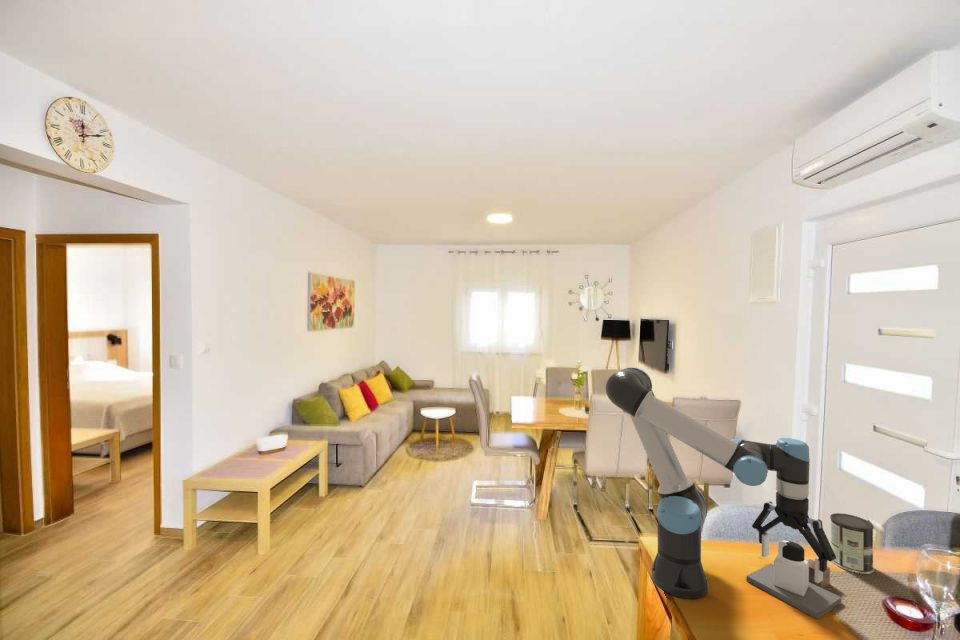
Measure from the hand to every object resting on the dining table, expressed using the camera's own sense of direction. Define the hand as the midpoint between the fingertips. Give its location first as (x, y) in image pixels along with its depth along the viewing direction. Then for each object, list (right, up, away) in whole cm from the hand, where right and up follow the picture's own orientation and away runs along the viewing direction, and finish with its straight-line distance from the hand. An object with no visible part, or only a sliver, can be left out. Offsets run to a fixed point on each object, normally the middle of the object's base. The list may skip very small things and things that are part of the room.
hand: (790, 567), depth 120 cm
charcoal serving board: (0, -7, 0) cm, 7 cm away
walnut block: (+10, -7, +4) cm, 13 cm away
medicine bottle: (0, -5, 0) cm, 5 cm away
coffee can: (+29, -7, +13) cm, 32 cm away
